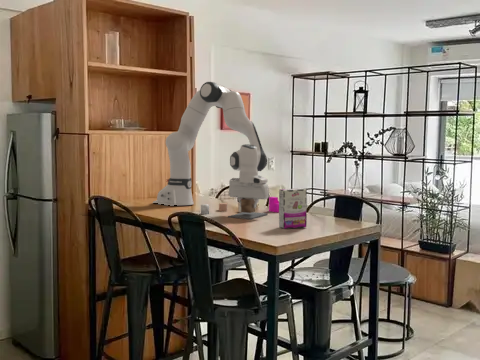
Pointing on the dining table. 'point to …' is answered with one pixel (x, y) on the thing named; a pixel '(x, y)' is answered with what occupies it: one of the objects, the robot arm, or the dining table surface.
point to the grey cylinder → (204, 209)
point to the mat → (248, 215)
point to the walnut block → (247, 205)
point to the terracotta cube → (222, 206)
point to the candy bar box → (292, 208)
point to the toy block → (273, 204)
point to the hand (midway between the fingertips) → (248, 207)
